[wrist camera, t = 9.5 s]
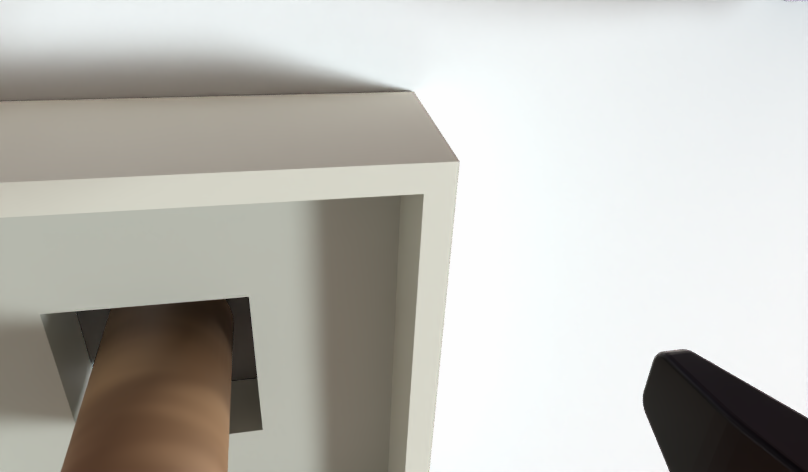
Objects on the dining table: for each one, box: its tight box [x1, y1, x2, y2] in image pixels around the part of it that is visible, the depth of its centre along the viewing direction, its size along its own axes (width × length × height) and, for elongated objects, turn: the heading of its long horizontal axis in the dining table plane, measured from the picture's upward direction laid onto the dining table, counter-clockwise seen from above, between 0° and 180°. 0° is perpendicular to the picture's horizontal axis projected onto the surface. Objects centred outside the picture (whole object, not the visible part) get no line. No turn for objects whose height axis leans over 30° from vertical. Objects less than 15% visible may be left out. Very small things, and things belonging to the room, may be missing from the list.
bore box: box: [0, 92, 460, 472], centre depth 19 cm, size 16×16×5 cm
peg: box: [61, 299, 234, 472], centre depth 18 cm, size 4×4×9 cm
